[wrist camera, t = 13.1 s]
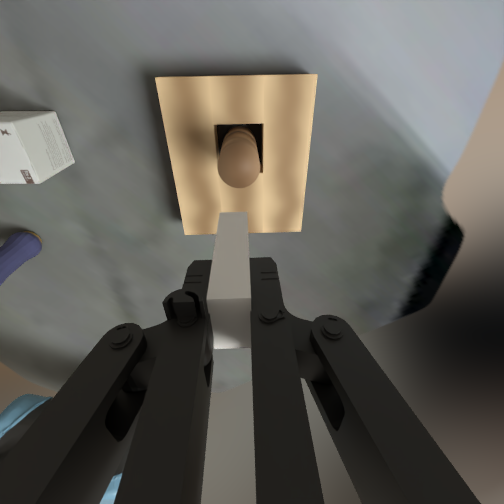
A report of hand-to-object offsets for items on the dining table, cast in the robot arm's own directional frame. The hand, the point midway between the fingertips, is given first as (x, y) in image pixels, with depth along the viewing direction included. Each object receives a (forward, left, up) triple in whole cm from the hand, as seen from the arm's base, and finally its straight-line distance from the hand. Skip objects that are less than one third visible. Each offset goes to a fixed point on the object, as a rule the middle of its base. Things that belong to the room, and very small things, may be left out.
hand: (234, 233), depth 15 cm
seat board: (0, -2, -22) cm, 22 cm away
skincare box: (-24, +1, -22) cm, 33 cm away
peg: (0, 0, -22) cm, 22 cm away
